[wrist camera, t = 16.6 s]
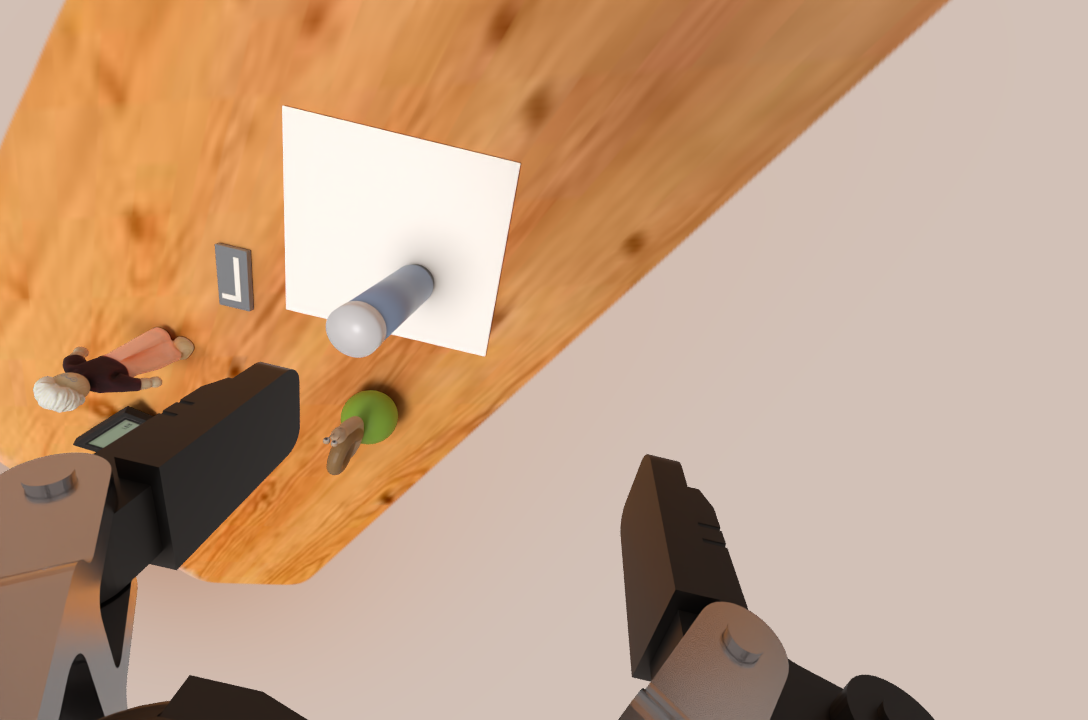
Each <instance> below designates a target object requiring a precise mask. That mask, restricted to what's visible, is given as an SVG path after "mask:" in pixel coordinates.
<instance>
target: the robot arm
mask: <svg viewBox="0 0 1088 720" xmlns="http://www.w3.org/2000/svg"><path fill="white" fill-rule="evenodd" d="M299 429H300V399H299V375H298V373H297V372H296V371H295V370H293V369H288V368H284V367H280V366H276V365H271V364H267V363H263V362H258V363H256V364H254V365H252V366H251V367H249V368H248V369H246V370H245V371H243V372H242V373H240V374H239V375H237V376H236V377H234V378H233V379H232V378H226V379H223V380H220V381H217V382H214V383H211V384H207V385H204V386H201V387H200V388H198V389H197V390H195V391H193V392H192V393H190V394H189V395H187V396H185V397H184V398H182V399H181V401H180V402H179V403H178V402H176V403H174V404H173V405H171V406H169V407H168V408H166V409H165V410H163V413H162V414H159V413H158V414H157V415H155V416H153V417H152V418H150V419H149V420H147V421H145V422H144V423H142V424H141V425H139V426H137V427H136V428H134V429H133V430H131V431H129V432H128V433H126V434H125V435H123V436H122V437H120V438H118V439H117V440H115V441H114V442H112V443H110V444H109V445H107V446H106V447H104V448H102V449H101V450H99V451H98V452H96V453H94V454H88V453H63V454H56V455H50V456H45V457H41V458H37V459H34V460H31V461H28V462H25V463H23V464H20V465H17V466H15V467H13V468H11V469H9V470H7V471H5V472H4V473H2V474H0V720H307V719H306V718H304V717H302V716H300V715H299V714H298V713H296V712H294V711H293V710H291V709H290V708H288V707H286V706H285V705H283V704H281V703H280V702H278V701H277V700H275V699H274V698H272V697H270V696H269V695H267V694H265V693H264V692H261V691H257V690H253V689H248V688H244V687H239V686H235V685H231V684H226V683H222V682H217V681H213V680H209V679H204V678H200V677H195V676H191V675H189V677H188V678H187V680H186V681H185V682H184V684H183V685H182V686H181V687H180V689H179V690H178V691H177V693H176V694H175V695H174V697H173V698H172V699H171V701H165V702H159V703H153V704H148V705H142V706H138V707H134V708H130V709H127V698H126V685H127V684H126V683H127V673H128V665H129V655H130V647H131V639H132V631H133V623H134V622H133V621H134V614H135V605H136V597H137V589H138V587H137V579H136V576H137V575H138V574H139V573H140V572H141V571H142V570H143V569H144V568H145V567H146V566H147V565H148V564H152V565H157V566H161V567H165V568H170V569H174V570H177V569H178V568H179V567H180V566H181V565H182V564H183V563H184V562H185V561H186V560H187V559H188V558H189V557H190V556H191V555H192V554H193V553H194V552H195V551H196V550H197V549H198V547H199V546H200V545H201V544H202V543H203V542H204V541H205V540H206V539H207V538H208V537H209V536H210V535H211V534H212V533H213V532H214V531H215V530H216V529H217V528H218V527H219V526H220V525H221V524H222V523H223V522H224V521H225V520H226V519H227V518H228V517H229V515H230V514H231V513H232V512H233V511H234V510H235V509H236V508H237V507H238V506H239V505H240V504H241V503H242V502H243V501H244V500H245V499H246V498H247V497H248V496H249V495H250V494H251V493H252V492H253V491H254V490H255V489H256V488H257V487H258V486H259V485H260V483H261V482H262V481H263V480H264V479H265V478H266V477H267V476H268V475H269V474H270V473H271V472H272V471H273V470H274V469H275V468H276V467H277V466H278V465H279V464H280V463H281V462H282V461H283V460H284V459H285V458H286V457H287V456H288V454H289V453H290V452H291V451H292V449H293V447H294V445H295V443H296V441H297V438H298V435H299ZM621 544H622V557H623V570H624V583H625V596H626V607H627V620H628V633H629V646H630V659H631V671H632V677H634V678H638V679H642V680H647V681H651V683H650V684H649V685H648V687H647V688H646V689H644V688H643V689H641V690H640V692H639V693H638V694H637V695H636V696H635V698H634V699H633V700H632V702H631V703H630V704H629V706H628V707H627V708H626V710H625V711H624V713H623V714H622V715H621V717H620V718H619V720H934V719H933V717H932V716H931V715H930V714H929V713H928V712H927V711H926V710H925V709H924V708H923V707H922V706H921V705H920V704H919V703H918V702H917V701H916V700H915V699H914V698H912V697H911V696H910V695H908V694H907V693H906V692H904V691H903V690H902V689H900V688H899V687H897V686H895V685H894V684H892V683H890V682H888V681H886V680H884V679H881V678H879V677H876V676H871V675H859V676H856V677H854V678H852V679H851V680H850V681H849V683H848V684H847V685H846V686H845V687H844V689H842V688H840V687H838V686H836V685H835V684H833V683H831V682H829V681H827V680H825V679H823V678H821V677H820V676H818V675H815V674H814V673H812V672H810V671H808V670H806V669H804V668H802V667H801V666H799V665H797V664H795V663H794V662H792V661H791V660H789V659H788V658H787V655H786V652H785V649H784V647H783V645H782V643H781V642H780V640H779V639H778V637H777V636H776V634H775V633H774V632H773V631H772V629H771V628H770V627H769V626H768V625H767V624H766V623H765V622H764V621H763V620H761V619H760V618H759V617H758V616H757V615H755V614H754V613H752V612H751V611H749V610H748V608H747V605H746V602H745V599H744V596H743V593H742V590H741V587H740V584H739V581H738V578H737V575H736V572H735V569H734V566H733V564H732V560H731V558H730V555H729V552H728V549H727V548H725V545H726V543H725V540H724V537H723V534H722V531H720V525H719V522H718V519H717V516H716V513H715V511H714V508H713V507H712V505H711V504H710V503H709V502H708V500H707V499H706V498H705V497H704V495H703V494H702V493H701V491H700V490H699V489H695V488H690V487H687V483H686V480H685V477H684V473H683V469H682V466H681V464H680V462H677V461H673V460H669V459H665V458H661V457H657V456H652V455H648V454H647V455H645V456H644V458H643V459H642V462H641V465H640V467H639V469H638V472H637V474H636V477H635V480H634V482H633V485H632V487H631V490H630V493H629V495H628V498H627V500H626V503H625V506H624V509H623V514H622V519H621Z"/></svg>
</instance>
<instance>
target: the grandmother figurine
mask: <svg viewBox="0 0 1088 720" xmlns="http://www.w3.org/2000/svg"><path fill="white" fill-rule="evenodd" d="M193 350H194V346H193V344H192V342H191V341H190V340H188V339H187V338H185V337H177V338H176V339H175V340H174V341H172V340H171V338H170V335H169V334H168V332H167V331H165V330H164V329H162V328H159V327H154V328H153V329H151V330H149V331H147V332H145V333H143V334H141V335H140V336H138V337H136V338H134V339H132V340H131V341H129V342H128V343H126V344H124V345H122V346H120V347H118V348H117V349H115V350H113V351H112V352H110V353H108V354H106V355H103V356H100V357H98V358H95V359H92V360H90V361H86V360H85V357H86V356H88V354H89V351H88V350H87V349H86V348H84V347H77V348H75V349H74V351H73V353H71V354H70V355H69V356H67V357H65V358H64V361H63V368H64V371H65V373H62V374H59V375H57V376H55V377H49V376H46V377H43V378H41V379H39V380H38V381H37V382H36V383H35V385H34V388H33V391H34V397H35V399H36V400H37V401H38V404H39V405H40V406H41V407H43V408H45V409H49V410H54V411H57V412H65V411H72V410H74V409H76V408H77V407H78V406H79V405H82V404H83V403H84V402H85V397H86V396H87V395H88V393H89V391H93V392H97V393H105V392H128V391H139V390H142V389H148V388H150V387H159V386H161V384H162V380H161V378H159V377H151V378H141V379H139V378H133V377H134V376H136V375H138V374H142V373H146V372H150V371H154V370H158V369H160V368H162V367H165V366H167V365H169V364H171V363H173V362H175V361H178V360H179V359H181V360H184V359H187V358H188V357H189V356H190V354H191V353H192V352H193Z"/></svg>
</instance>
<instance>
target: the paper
mask: <svg viewBox="0 0 1088 720" xmlns="http://www.w3.org/2000/svg"><path fill="white" fill-rule="evenodd" d="M282 119H283V170H284V221H285V273H286V309H287V310H292V311H296V312H300V313H304V314H308V315H313V316H317V317H321V318H325V319H328V316H329V315H330V314H331V312H333V311H334V310H335V309H337V308H338V307H340V306H341V305H343V304H345V303H347V302H349V301H350V300H352V299H354V298H355V297H357V296H358V295H360V294H361V293H363V292H364V291H366V290H367V289H369V288H370V287H372V286H374V285H375V284H377V283H378V282H380V281H381V280H383V279H384V278H386V277H387V276H389V275H391V274H392V273H394V272H395V271H397V270H398V269H400V268H401V267H403V266H405V265H412V264H418V265H422V266H424V267H425V268H427V269H428V270H429V271H430V272H431V274H432V276H433V278H434V288H433V291H432V294H431V296H430V297H429V298H428V299H427V300H426V301H425V302H424V303H423V304H422V305H421V306H420V307H419V308H418V309H417V310H416V311H415V312H414V313H413V314H412V315H411V316H410V317H408V318H407V319H406V320H405V321H404V322H403V323H402V324H401V325H400V326H399V327H398V328H397V329H396V330H395V331H394V332H393V333H392V334H393V335H397V336H401V337H405V338H409V339H414V340H418V341H422V342H426V343H430V344H435V345H439V346H443V347H447V348H451V349H456V350H460V351H464V352H468V353H472V354H477V355H481V356H486V351H487V345H488V340H489V334H490V329H491V323H492V318H493V312H494V307H495V301H496V296H497V291H498V285H499V280H500V274H501V269H502V263H503V258H504V252H505V247H506V241H507V236H508V230H509V225H510V220H511V214H512V209H513V203H514V198H515V192H516V187H517V181H518V176H519V170H520V165H521V163H518V162H513V161H509V160H505V159H501V158H497V157H493V156H489V155H485V154H481V153H476V152H472V151H468V150H464V149H460V148H456V147H452V146H448V145H444V144H439V143H435V142H431V141H427V140H423V139H419V138H415V137H411V136H407V135H402V134H398V133H394V132H390V131H386V130H382V129H378V128H374V127H370V126H365V125H361V124H357V123H353V122H349V121H345V120H341V119H337V118H333V117H328V116H324V115H320V114H316V113H312V112H308V111H304V110H300V109H296V108H291V107H287V106H282Z"/></svg>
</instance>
